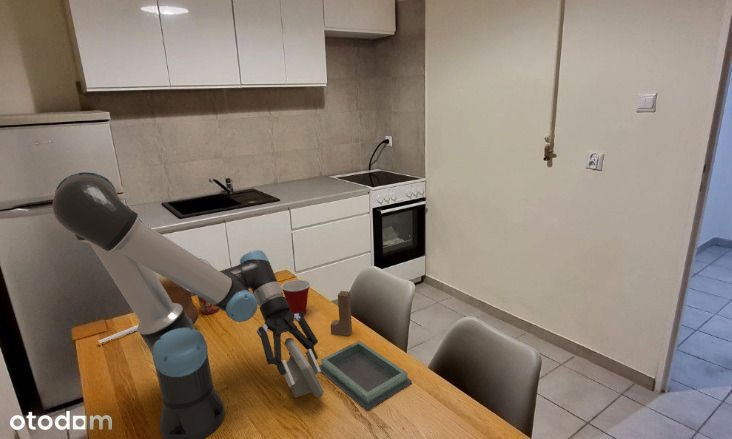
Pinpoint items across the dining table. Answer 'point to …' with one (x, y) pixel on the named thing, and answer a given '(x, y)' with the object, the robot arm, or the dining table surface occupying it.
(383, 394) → the keeper tray
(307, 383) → the digital clock
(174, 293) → the butternut squash
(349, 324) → the wooden block
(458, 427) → the dining table surface
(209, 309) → the smoothie
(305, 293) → the plastic cup
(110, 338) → the marker
